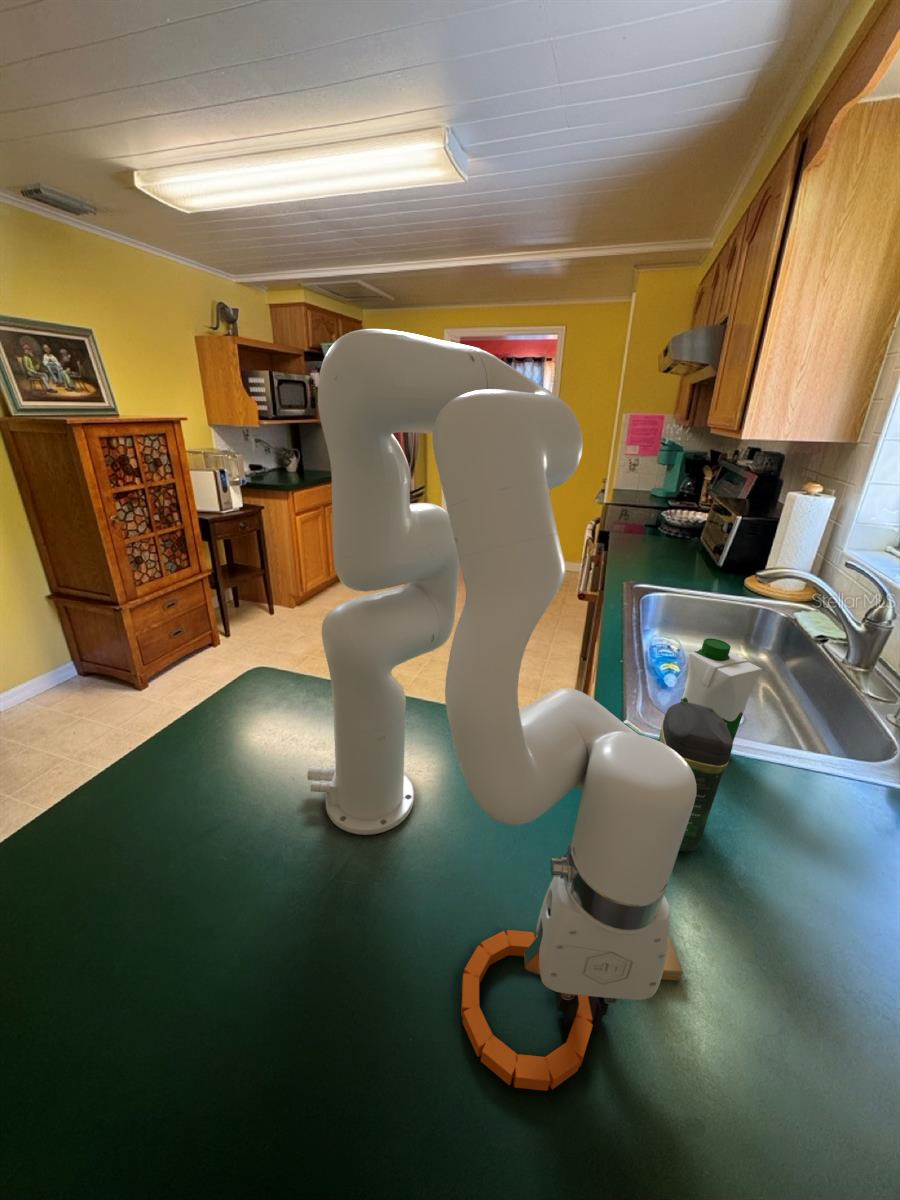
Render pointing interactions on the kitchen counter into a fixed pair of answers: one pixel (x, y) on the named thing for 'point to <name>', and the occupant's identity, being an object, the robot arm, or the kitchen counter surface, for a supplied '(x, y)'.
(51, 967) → the kitchen counter surface
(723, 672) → the milk carton
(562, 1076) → the orange segmented ring
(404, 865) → the kitchen counter surface
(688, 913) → the kitchen counter surface
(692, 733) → the coffee jar
